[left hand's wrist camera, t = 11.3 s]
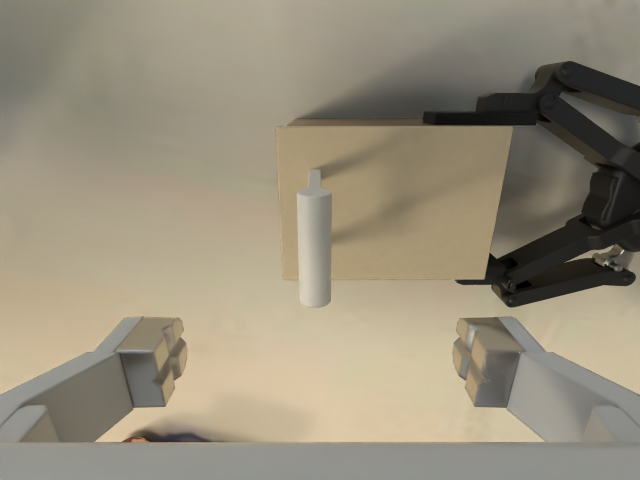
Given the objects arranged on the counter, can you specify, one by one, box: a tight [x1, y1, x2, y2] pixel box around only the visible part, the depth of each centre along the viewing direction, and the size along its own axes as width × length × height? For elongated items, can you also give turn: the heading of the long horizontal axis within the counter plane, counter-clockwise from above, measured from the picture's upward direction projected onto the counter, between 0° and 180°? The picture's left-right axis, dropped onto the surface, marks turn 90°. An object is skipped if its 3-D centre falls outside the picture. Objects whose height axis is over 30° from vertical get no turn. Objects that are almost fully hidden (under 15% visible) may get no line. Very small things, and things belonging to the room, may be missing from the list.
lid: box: [276, 126, 514, 308], centre depth 19 cm, size 14×10×8 cm
